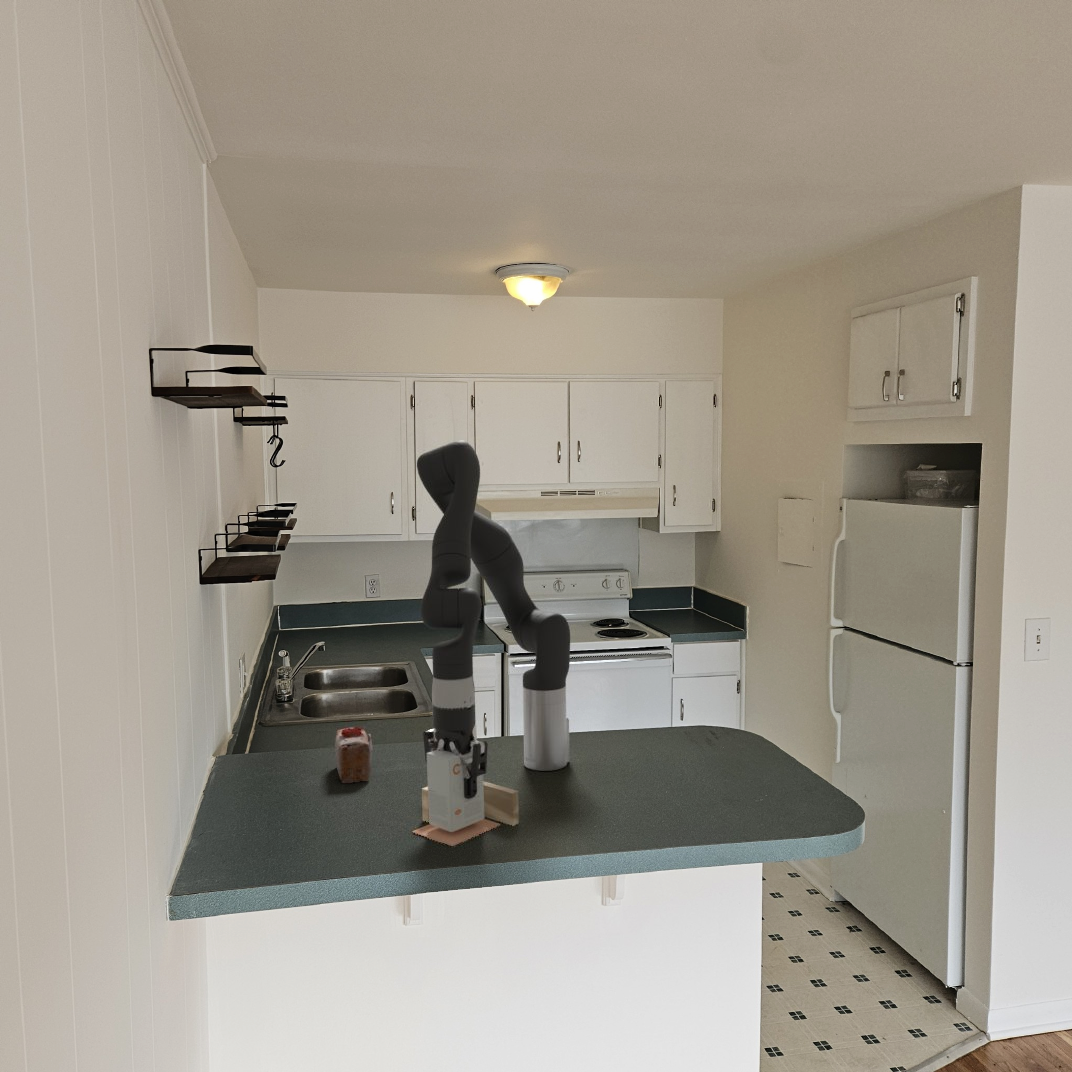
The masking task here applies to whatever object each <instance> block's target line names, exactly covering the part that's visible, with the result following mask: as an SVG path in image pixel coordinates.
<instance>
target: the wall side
mask: <svg viewBox="0 0 1072 1072" xmlns="http://www.w3.org/2000/svg"><path fill="white" fill-rule="evenodd" d="M421 809H422V810H421V811H422V816H421V817H422V821H423V822H425V821H426V822H425V823H428V822H429V807H428V785H427V786H425V787H422V788H421Z"/></svg>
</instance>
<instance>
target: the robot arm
mask: <svg viewBox="0 0 1072 1072" xmlns="http://www.w3.org/2000/svg"><path fill="white" fill-rule="evenodd" d="M416 461H417V462H416V470H417V473H418V476H419V479H420V482H421V483H422V485H423V486H424V488H425V490H426V492H427V493H428V494H429V496H430V497H431V499H432V501H433V502H434V504H436V506H437V507H438V509H439V510H440V511H441V513H442V514H443V515H442V517H441V519H440V521H439V522H438V524H437V526H436V529H435V532H434V535H433V538H432V543H431V570H430V572H431V573H430V576H429V580H428V584H427V586H426V588H425V591H424V593H423V597H422V599H421V604H420V610H419V611H420V617H421V620H422V622H423V624H424V625H425V626H426V628H429V629H432V630H447V629H451V630H452V629H461V632H460V634H458V636H456V637H455V638H453V639H452V638H451V639H448V640H444V641H440V642H437V643H435V644H434V646H433V648H432V686H431V700H432V702H431V704H432V706H431V707H432V728H431V729H428V730H425V731H423V732H422V735H423V737H422V738H423V747H424V756H425V763H426V764H427V753H429V752H432V751H435V750H437V751H448V752H452V753H454V755H456V756H459V757H460V765H461V766H462V767H463V773H464V776H465V778H464V797H465V798H466V799H471V798H473V797H475V796H476V794H477V777H478V776H480V775H482V774H483V775H485V774H487V765H488V764H487V763H488V742H487V740H483V741H479V740H475V738H474V736H473V728H474V726H475V724H476V721H477V720H476V687H475V681H474V663H473V662H474V661H473V659H474V657H473V655H474V654H473V652H474V643H475V641H474V640H475V636H476V632H477V628H478V624H479V622H480V618H481V614H482V610H483V609H482V608H483V607H482V605H483V603H482V598H481V596H480V594H479V592H478V591H477V590H476V589H474V588H471V587H461V588H458V587H456V586H459V585H461V584H464V583H465V582H468V580H469V579H470V577H471V572H472V570H471V569H472V567H471V566H472V563H471V561H472V562H473V564H474V566H475V568H476V569H477V571H478V572H479V574H480V576H481V577H482V578H483V581H484V582H485V583H486V585H487V587H488V589H489V591H490V592H491V594H492V596H493V597H494V600H495V601H496V603H497V604H498V606H499V608H500V610H501V611H502V614H503V615H504V619H505V621H506V622H507V625H508V627H509V630H510V631H511V635H512V636H513V638H514V640H515V641H516V643H517V644H518V646H519V647H520V648H521V649H522V650H524V651H525V652H529V653H532V654H533V653H534V654H535V663H534V668H531V669H528V670H526V671H524V673H523V675H522V708H523V709H522V712H523V714H522V715H523V765H524V767H526V768H527V769H530V770H533V771H539V772H540V771H543V772H544V771H545V772H546V771H547V772H548V771H550V772H551V771H557V770H559V769H563V768H565V767H567V764H568V763H569V762H570V719H569V717H567V687H566V686H567V676H568V673H569V671H570V660H571V659H570V656H571V652H570V651H571V630H570V625H569V622H568V620H567V619H566V618H565V617H564V616H563V614H561V613H559V612H558V613H557V612H552V611H547V610H541V609H539V608H538V606H536V604H535V603H534V602H533V600H532V599H531V597H530V595H529V593H528V591H527V590H526V587H525V583H524V581H525V580H524V574H525V573H524V571H525V570H524V567H525V566H524V562H523V561H524V560H523V557H522V554H521V552H520V551H519V549H518V546H516V543H515V542H514V540H513V538H512V537H511V535H510V533H509V532H508V530H507V529H506V528H504V527H503V525H501V524H499V523H498V522H496V521H494V520H492V519H491V518H489V517H488V516H486V515H485V514H482V513H480V512H479V511H477V510H476V505H477V498H478V492H479V486H480V479H481V465H480V461H479V456H478V454H477V453H476V451H475V449H474V448H473V446H472V445H471V444H470V443H469V442H467V441H466V440H461V439H460V440H456V441H452V442H448V443H447V444H444V445H442V446H440V447H435V448H434V449H431V450H429V451H427V452H425V453H422V454H421V455H419V457H418V458H417V460H416ZM452 587H455V588H452ZM476 725H477V724H476ZM469 752H471V753H473V755H472V757H471V758H469V759H467V760H464V759H463V757H461V756H462V755H465V754H467V753H469ZM469 763H471V770H469V768H468V764H469ZM479 764H480V768H479Z"/></svg>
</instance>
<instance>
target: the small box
mask: <svg viewBox="0 0 1072 1072" xmlns="http://www.w3.org/2000/svg"><path fill="white" fill-rule="evenodd" d="M472 755H473V753H471V752H469V753H467V754H465V755H462V756H461V757H463V759H464V760H467V759H469V758H471V757H472ZM468 768H469V770H471V763H469V764H468ZM479 768H480V764H479ZM426 773H427V774H426V776H427V786H428V807H429V824H431V825H433V826H436V827H439V828H441V829H444V830H446V831H449V832H454V831H457V830H459V829H461V828H464V827H466V826H469V825H471V824H473V823H476V822H478V821H481V820H483V819H485V817H484V786H483V781H484V774H482V775H480V776H478V777H477V794H476V796H475V797H473V798H471V799H466V798H465V797H464V778H465V776H464V773H463V767H462V766H461V765H460V757H459V756H456V755H454V753H452V752H448V751H437V750H435V751H433V750H431V752H429V753H427V763H426ZM429 824H428V825H429Z"/></svg>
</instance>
